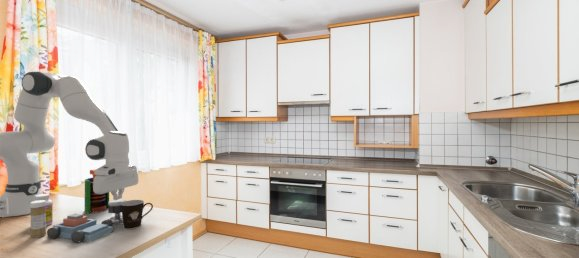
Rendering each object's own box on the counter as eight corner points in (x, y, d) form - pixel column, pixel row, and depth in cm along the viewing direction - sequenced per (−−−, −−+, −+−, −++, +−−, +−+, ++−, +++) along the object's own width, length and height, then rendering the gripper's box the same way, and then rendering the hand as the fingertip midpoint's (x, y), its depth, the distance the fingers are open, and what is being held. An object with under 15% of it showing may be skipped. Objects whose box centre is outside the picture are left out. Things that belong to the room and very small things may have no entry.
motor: (94, 214, 133) (94, 172, 132) (79, 212, 134) (78, 171, 134) (112, 207, 143) (112, 168, 142) (97, 206, 144) (97, 168, 144)
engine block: (63, 229, 109) (63, 216, 109) (75, 224, 114) (75, 212, 114) (74, 230, 108) (74, 218, 107) (87, 226, 112) (87, 213, 112)
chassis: (43, 237, 106) (42, 227, 106) (79, 224, 119) (79, 215, 119) (83, 244, 101) (83, 233, 101) (116, 229, 114) (116, 220, 114)
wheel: (104, 212, 120) (104, 203, 120) (118, 207, 127) (118, 199, 127) (117, 214, 118) (117, 204, 118) (130, 209, 125) (130, 200, 125)
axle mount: (106, 223, 121) (106, 212, 120) (118, 219, 126) (118, 208, 126) (117, 225, 119) (117, 214, 119) (128, 220, 125) (128, 210, 125)
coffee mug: (117, 230, 113) (117, 206, 113) (124, 223, 122) (124, 200, 121) (149, 228, 116) (149, 204, 116) (153, 220, 125) (153, 198, 124)
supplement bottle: (39, 228, 114) (39, 197, 114) (27, 227, 116) (27, 196, 115) (56, 223, 121) (56, 193, 120) (45, 221, 122) (44, 192, 122)
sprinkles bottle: (36, 233, 109) (36, 199, 109) (49, 233, 110) (49, 199, 109) (27, 238, 105) (26, 203, 104) (40, 238, 105) (39, 202, 105)
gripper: (130, 164, 133) (130, 192, 133) (90, 171, 113) (90, 205, 114) (141, 164, 131) (141, 193, 132) (102, 172, 112) (102, 206, 112)
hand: (117, 199), depth 122 cm, fingers closed
